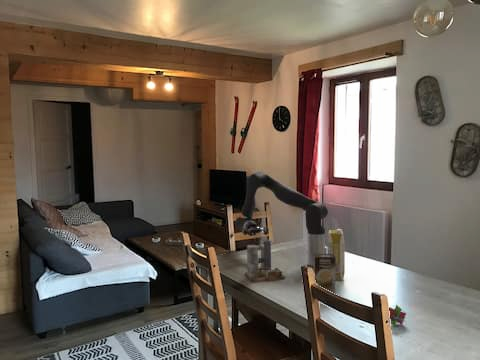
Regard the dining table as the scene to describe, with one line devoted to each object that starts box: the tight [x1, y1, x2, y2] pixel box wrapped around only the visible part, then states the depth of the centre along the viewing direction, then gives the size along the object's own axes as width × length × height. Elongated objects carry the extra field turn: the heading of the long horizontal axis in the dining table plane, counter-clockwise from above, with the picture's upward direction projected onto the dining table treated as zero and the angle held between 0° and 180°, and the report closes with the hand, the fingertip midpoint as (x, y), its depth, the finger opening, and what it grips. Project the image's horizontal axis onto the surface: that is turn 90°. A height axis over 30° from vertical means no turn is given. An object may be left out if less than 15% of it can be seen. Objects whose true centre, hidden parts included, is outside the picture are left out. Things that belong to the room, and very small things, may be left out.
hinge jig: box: [244, 244, 286, 283], centre depth 198 cm, size 17×13×16 cm
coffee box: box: [312, 253, 336, 294], centre depth 177 cm, size 9×6×16 cm
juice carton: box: [326, 228, 346, 282], centre depth 193 cm, size 9×8×24 cm
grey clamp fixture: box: [258, 238, 272, 271], centre depth 211 cm, size 8×5×15 cm, turn 104°
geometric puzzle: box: [389, 304, 407, 328], centre depth 142 cm, size 7×7×8 cm
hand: (258, 233), depth 222 cm, fingers open, 8 cm apart
